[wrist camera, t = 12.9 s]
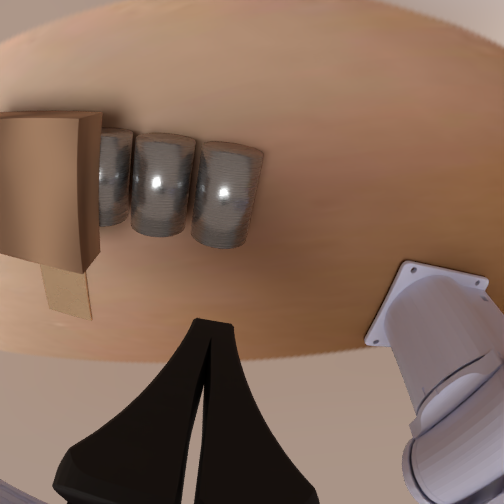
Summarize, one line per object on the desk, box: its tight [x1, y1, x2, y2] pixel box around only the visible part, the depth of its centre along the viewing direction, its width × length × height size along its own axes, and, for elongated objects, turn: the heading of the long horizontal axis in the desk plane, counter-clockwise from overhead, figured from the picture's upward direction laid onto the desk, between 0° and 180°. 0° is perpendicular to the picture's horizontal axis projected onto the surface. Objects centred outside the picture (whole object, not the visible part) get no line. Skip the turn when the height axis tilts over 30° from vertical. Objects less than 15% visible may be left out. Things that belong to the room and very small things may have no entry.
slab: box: [0, 111, 103, 274], centre depth 14 cm, size 10×8×2 cm
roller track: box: [40, 128, 264, 321], centre depth 19 cm, size 19×16×3 cm
